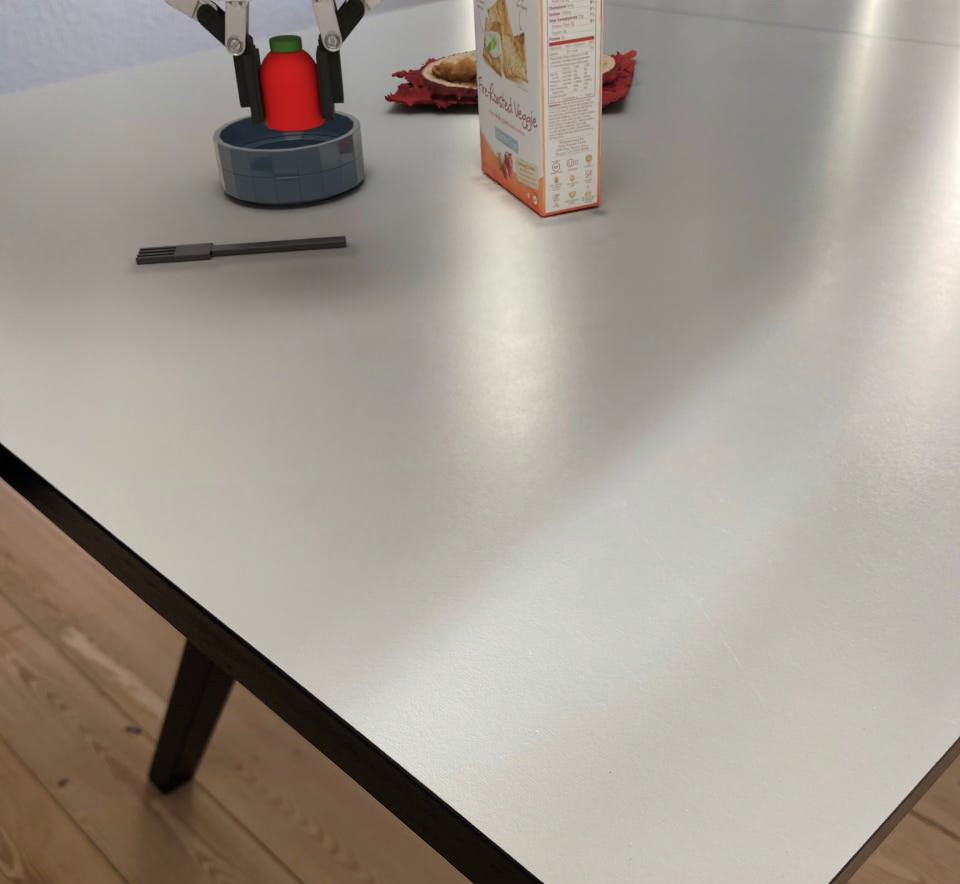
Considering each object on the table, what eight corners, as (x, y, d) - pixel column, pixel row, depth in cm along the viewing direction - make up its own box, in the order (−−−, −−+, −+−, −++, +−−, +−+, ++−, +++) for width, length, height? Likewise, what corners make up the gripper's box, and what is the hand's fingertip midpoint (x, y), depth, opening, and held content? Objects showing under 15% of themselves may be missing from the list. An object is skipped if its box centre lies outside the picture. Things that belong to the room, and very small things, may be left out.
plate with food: (623, 117, 117) (625, 82, 115) (385, 111, 121) (382, 76, 119) (636, 65, 135) (638, 33, 133) (429, 60, 139) (428, 29, 137)
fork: (346, 249, 91) (345, 243, 91) (136, 264, 91) (135, 258, 90) (346, 238, 93) (345, 233, 93) (141, 253, 93) (139, 247, 92)
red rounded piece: (263, 132, 71) (251, 46, 68) (267, 115, 74) (256, 32, 70) (323, 129, 71) (314, 43, 68) (325, 113, 74) (317, 30, 71)
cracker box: (476, 173, 105) (465, -92, 91) (535, 163, 106) (532, -99, 93) (538, 220, 95) (535, -71, 81) (602, 207, 96) (609, -79, 83)
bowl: (216, 214, 99) (205, 156, 96) (230, 168, 109) (220, 113, 106) (365, 204, 99) (359, 145, 96) (365, 159, 110) (360, 104, 106)
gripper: (80, -238, 57) (155, 140, 69) (406, -249, 58) (426, 128, 69) (107, -243, 63) (172, 107, 75) (403, -252, 64) (421, 96, 75)
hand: (294, 114), depth 72 cm, fingers closed on red rounded piece, 3 cm apart
